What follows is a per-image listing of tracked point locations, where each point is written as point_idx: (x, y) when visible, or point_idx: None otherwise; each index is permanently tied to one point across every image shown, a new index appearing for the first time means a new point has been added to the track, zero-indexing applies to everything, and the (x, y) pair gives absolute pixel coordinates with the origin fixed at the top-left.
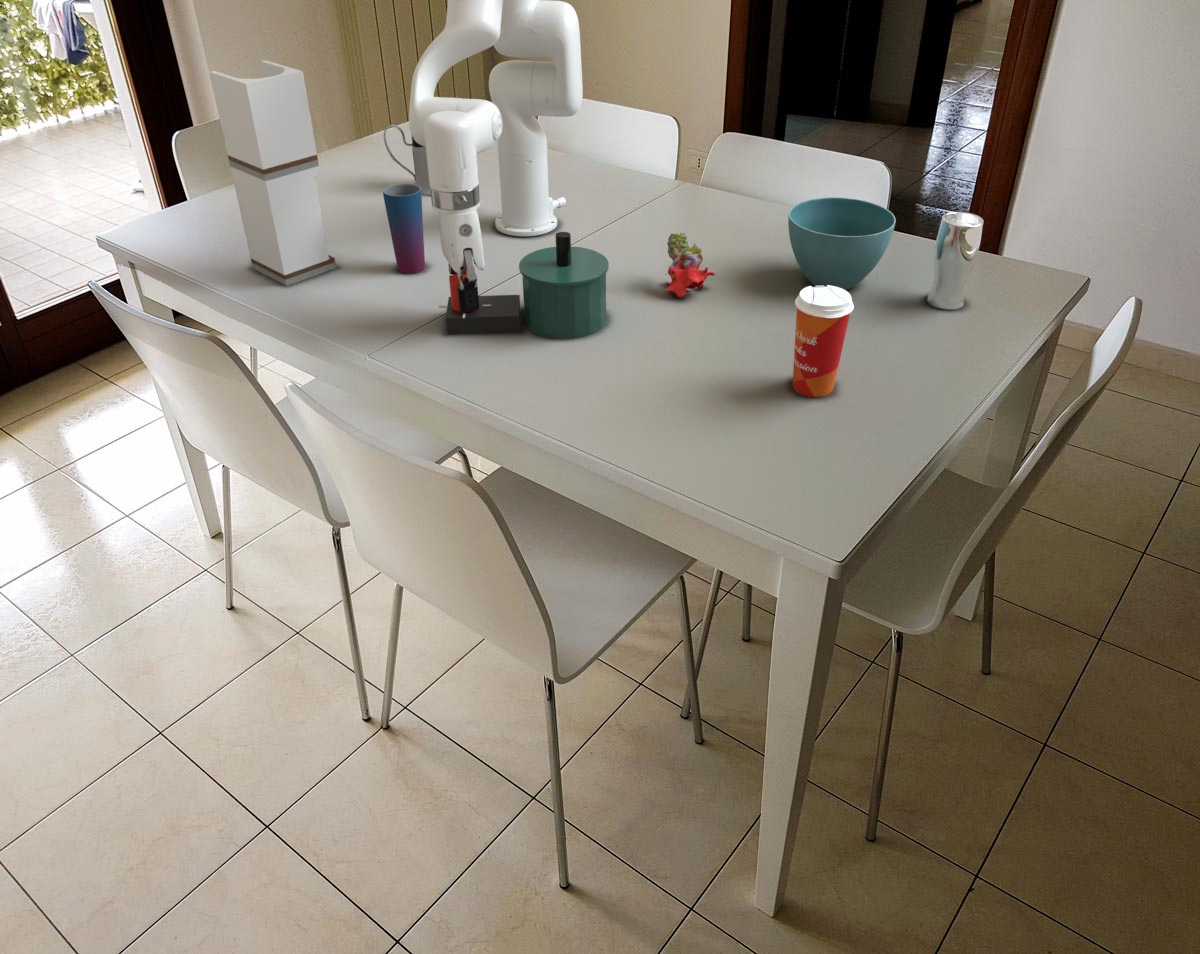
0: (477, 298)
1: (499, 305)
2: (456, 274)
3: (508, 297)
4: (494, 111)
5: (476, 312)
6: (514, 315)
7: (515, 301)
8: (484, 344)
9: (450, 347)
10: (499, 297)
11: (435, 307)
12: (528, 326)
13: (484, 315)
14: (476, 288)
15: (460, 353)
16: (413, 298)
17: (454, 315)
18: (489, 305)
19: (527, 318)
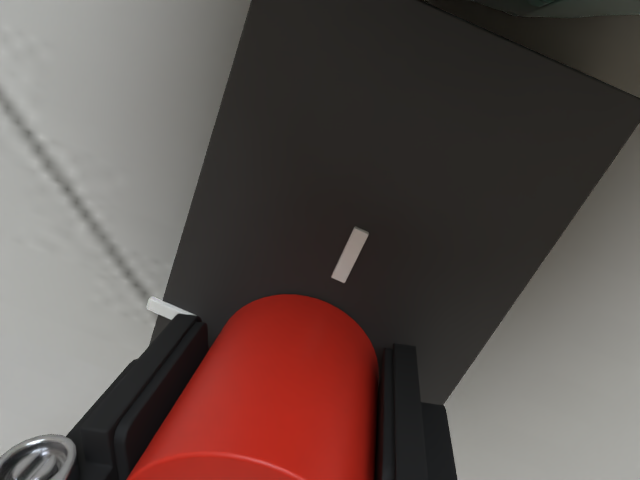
0: (418, 401)
1: (388, 175)
2: None
3: (285, 54)
4: None
5: (407, 343)
6: (621, 137)
7: (384, 26)
8: (586, 325)
9: (510, 449)
10: (258, 122)
11: (108, 358)
12: (583, 16)
13: (477, 320)
14: (422, 478)
15: (594, 441)
16: (5, 394)
17: None
18: (364, 244)
19: (596, 9)
